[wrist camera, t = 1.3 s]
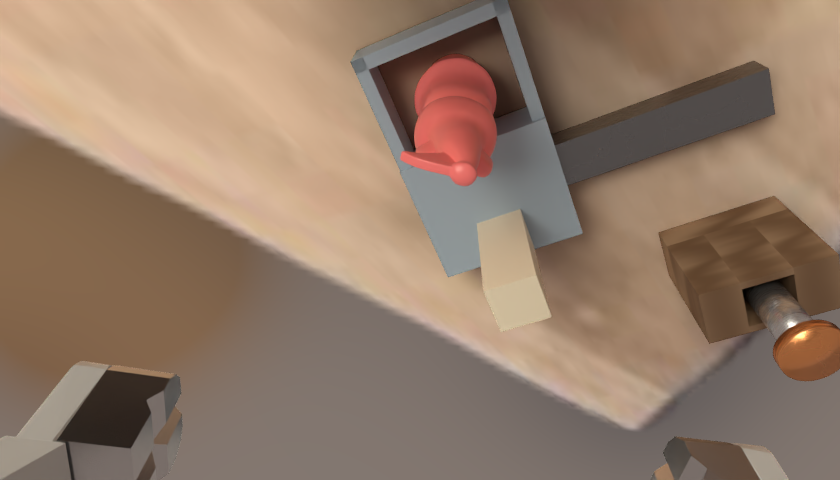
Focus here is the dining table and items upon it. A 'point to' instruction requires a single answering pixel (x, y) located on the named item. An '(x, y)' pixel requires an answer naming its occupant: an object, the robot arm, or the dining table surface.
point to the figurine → (454, 120)
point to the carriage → (487, 196)
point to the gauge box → (748, 265)
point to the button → (795, 333)
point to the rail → (665, 122)
